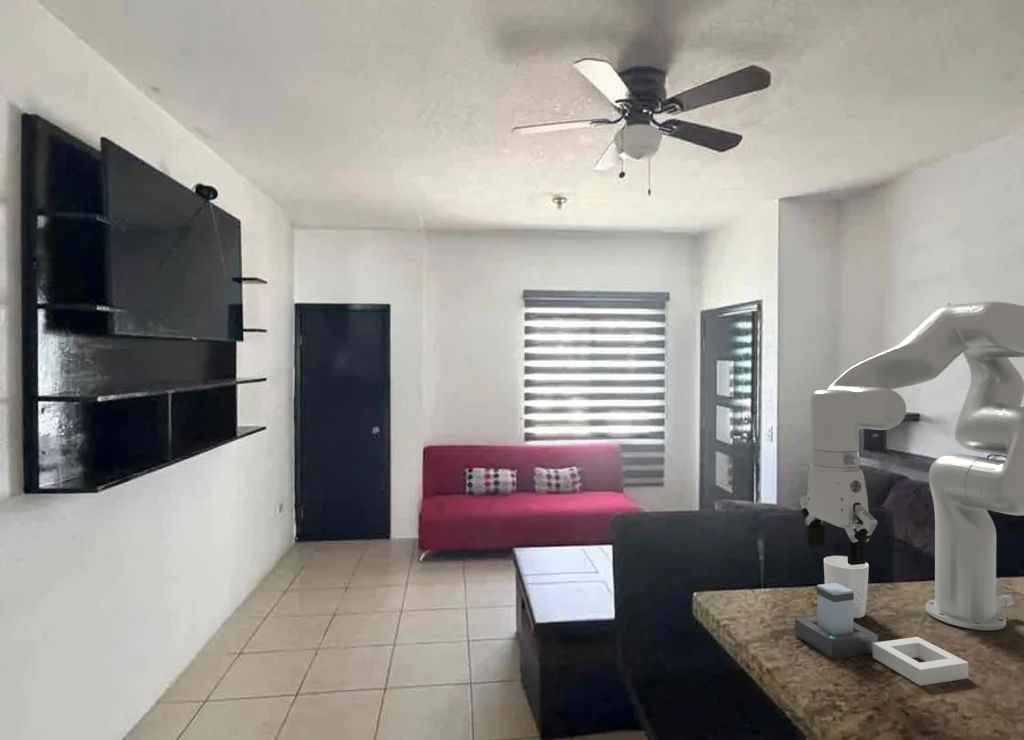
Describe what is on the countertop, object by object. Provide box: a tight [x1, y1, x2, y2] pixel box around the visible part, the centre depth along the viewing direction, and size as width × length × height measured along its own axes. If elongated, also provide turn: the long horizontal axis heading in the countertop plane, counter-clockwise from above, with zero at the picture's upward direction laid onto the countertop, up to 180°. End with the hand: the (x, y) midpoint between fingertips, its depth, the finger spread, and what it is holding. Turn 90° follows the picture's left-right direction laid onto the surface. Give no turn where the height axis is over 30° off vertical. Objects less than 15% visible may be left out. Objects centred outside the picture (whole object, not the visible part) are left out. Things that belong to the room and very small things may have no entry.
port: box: [794, 615, 879, 660], centre depth 109 cm, size 9×9×3 cm
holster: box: [872, 636, 969, 686], centre depth 100 cm, size 9×9×2 cm
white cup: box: [823, 555, 870, 619], centre depth 122 cm, size 8×8×10 cm
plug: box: [816, 583, 854, 635], centre depth 108 cm, size 4×4×10 cm
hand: (835, 555), depth 108 cm, fingers open, 9 cm apart
